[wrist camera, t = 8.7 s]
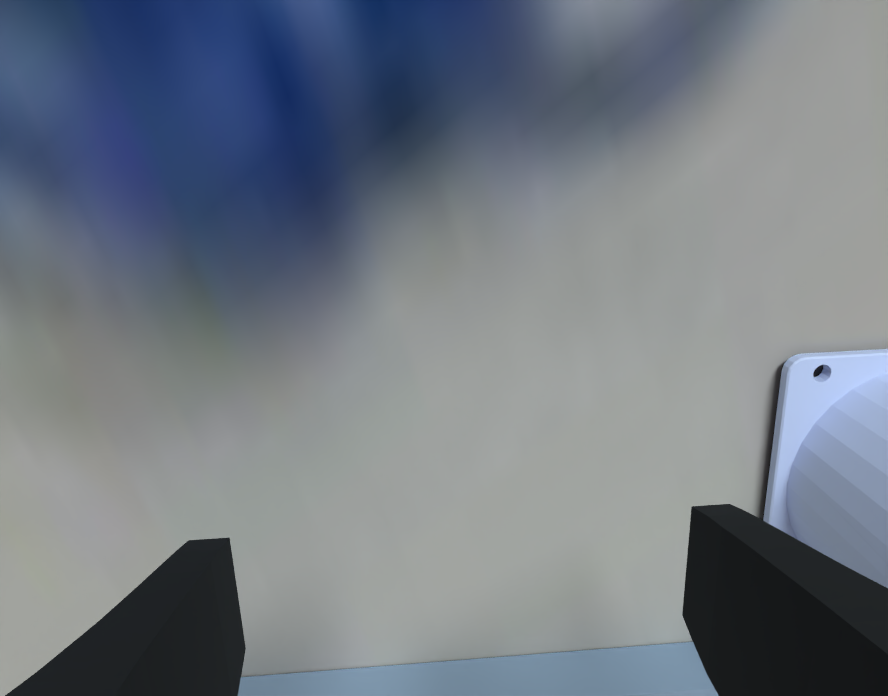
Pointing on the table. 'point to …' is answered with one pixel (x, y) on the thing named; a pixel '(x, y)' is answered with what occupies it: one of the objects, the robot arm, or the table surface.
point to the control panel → (510, 676)
